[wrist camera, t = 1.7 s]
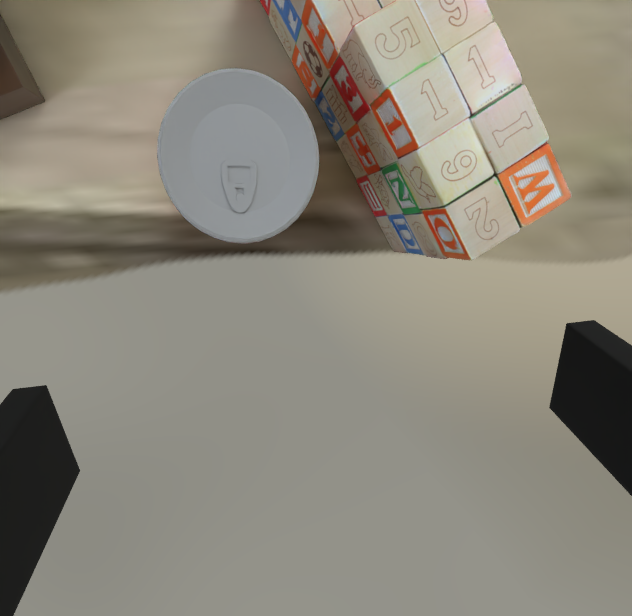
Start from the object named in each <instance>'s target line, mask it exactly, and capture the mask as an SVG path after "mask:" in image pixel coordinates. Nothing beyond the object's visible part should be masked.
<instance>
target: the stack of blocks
mask: <svg viewBox="0 0 632 616" xmlns="http://www.w3.org/2000/svg"><path fill="white" fill-rule="evenodd" d="M260 2H261V4H262V5H263V7H264V9H265V11H266V13H267V15H268V16H269V21H270V23H271V25H272V26H273V28H274V30H275V32H276V34H277V36H278V38H279V39H280V41H281V43H282V45H283V47H284V48H285V50H286V52H287V54H288V56H289V58H290V59H291V60H292V63H293V65H294V67H295V69H296V71H297V73H298V75H299V77H300V78H301V80H302V82H303V84H304V86H305V88H306V90H307V91H308V93H309V95H310V97H311V99H312V100H313V101H314V102H315V104H316V106H317V108H318V110H319V111H320V113H321V115H322V117H323V119H324V121H325V123H326V124H327V126H328V128H329V130H330V132H331V134H332V136H333V138H334V139H335V140H336V142H337V144H338V146H339V148H340V150H341V152H342V154H343V155H344V157H345V159H346V161H347V163H348V165H349V166H350V168H351V170H352V172H353V174H354V176H355V177H356V181H357V183H358V185H359V187H360V189H361V191H362V193H363V195H364V197H365V199H366V200H367V202H368V204H369V206H370V208H371V210H372V212H373V214H374V215H375V217H376V219H377V222H378V223H379V225H380V227H381V229H382V231H383V233H384V235H385V237H386V238H387V240H388V242H389V244H390V246H391V248H392V249H393V251H395V252H402V253H413V254H420V255H425V256H427V257H434V258H440V259H447V258H456V259H463V260H473V259H475V258H477V257H478V256H480V255H481V254H483V253H485V252H486V251H488V250H489V249H491V248H493V247H494V246H496V245H498V244H499V243H501V242H502V241H504V240H506V239H507V238H509V237H511V236H512V235H514V234H516V233H517V232H519V231H520V228H523V227H525V226H527V225H529V224H531V223H533V222H534V221H536V220H537V219H539V218H541V217H542V216H544V215H545V214H547V213H548V212H550V211H552V210H553V209H555V208H556V207H558V206H559V205H561V204H562V203H564V202H566V201H567V200H568V199H570V198H571V196H572V195H571V193H570V190H569V188H568V186H567V183H566V181H565V179H564V177H563V175H562V172H561V170H560V168H559V165H558V163H557V160H556V158H555V156H554V154H553V152H552V149H551V147H550V145H549V144H548V143H547V141H548V139H549V135H548V133H547V131H546V129H545V127H544V125H543V122H542V120H541V118H540V116H539V114H538V112H537V109H536V107H535V105H534V103H533V100H532V98H531V96H530V94H529V92H528V90H527V88H526V86H525V85H524V84H521V81H522V75H521V73H520V71H519V69H518V66H517V64H516V62H515V60H514V58H513V56H512V54H511V51H510V49H509V47H508V45H507V43H506V41H505V39H504V37H503V34H502V32H501V30H500V28H499V26H498V24H497V23H495V22H494V21H493V15H492V12H491V10H490V8H489V6H488V4H487V2H486V0H260Z"/></svg>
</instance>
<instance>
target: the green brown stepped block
mask: <svg viewBox="0 0 632 616" xmlns="http://www.w3.org/2000/svg"><path fill="white" fill-rule="evenodd" d="M42 102H45V100H44V98H43V96H42V94H41V92H40V90H39V88H38V86H37V84H36V82H35V80H34V78H33V77H32V75H31V73H30V71H29V69H28V67H27V65H26V63H25V61H24V59H23V57H22V55H21V53H20V51H19V50H18V48H17V46H16V44H15V42H14V40H13V38H12V36H11V34H10V32H9V30H8V28H7V26H6V24H5V23H4V21H3V19H2V17H1V15H0V119H3V118H5V117H8V116H10V115H13V114H15V113H18V112H20V111H23V110H25V109H28V108H30V107H32V106H35V105H37V104H40V103H42Z"/></svg>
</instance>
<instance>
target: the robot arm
mask: <svg viewBox="0 0 632 616" xmlns="http://www.w3.org/2000/svg"><path fill="white" fill-rule="evenodd" d="M550 409H551V410H552V411H553V412H554V413H555V414H556V415H557V416H558V417H559V418H560V420H561V421H562V422H563V423H564V424H565V425H566V426H567V427H568V428H569V429H570V430H571V431H572V432H573V433H574V435H576V437H577V438H578V439H579V440H580V441H581V442H582V443H583V444H584V445H585V446H586V447H587V448H588V449H589V451H590V452H591V453H592V454H593V455H594V456H595V457H596V458H597V459H598V460H599V461H600V462H601V463H602V464H603V466H604V467H605V468H606V469H607V470H608V471H609V472H610V473H611V474H612V475H613V476H614V477H615V479H616V480H617V481H618V482H619V483H620V484H621V485H622V486H623V487H624V488H625V489H626V490H627V491H628V492H629V494H630V495H631V496H632V346H631V345H630V344H628V343H627V342H626V341H624V340H623V339H621V338H619V337H618V336H617V335H615V334H614V333H612V332H611V331H609V330H608V329H606V328H605V327H603V326H602V325H600V324H599V323H597V322H596V321H594V320H592V321H583V322H575V323H567V324H566V329H565V334H564V339H563V344H562V348H561V353H560V358H559V363H558V368H557V373H556V378H555V383H554V388H553V393H552V397H551V403H550ZM79 472H80V469H79V467H78V465H77V462H76V459H75V457H74V455H73V452H72V449H71V447H70V444H69V442H68V439H67V437H66V434H65V431H64V429H63V426H62V424H61V421H60V419H59V416H58V414H57V411H56V409H55V406H54V404H53V401H52V399H51V396H50V393H49V391H48V388H47V386H46V385H45V386H36V387H28V388H19V389H13V390H12V391H11V392H10V393H9V394H8V396H7V397H6V398H5V399H4V401H3V402H2V403H1V404H0V616H13V615H14V613H15V610H16V608H17V606H18V604H19V602H20V600H21V598H22V595H23V593H24V591H25V589H26V587H27V584H28V582H29V580H30V578H31V576H32V574H33V571H34V569H35V567H36V565H37V563H38V561H39V559H40V556H41V554H42V552H43V550H44V548H45V545H46V543H47V541H48V539H49V537H50V535H51V532H52V530H53V528H54V526H55V524H56V522H57V520H58V517H59V515H60V513H61V511H62V509H63V507H64V504H65V502H66V500H67V498H68V496H69V493H70V491H71V489H72V487H73V485H74V483H75V480H76V478H77V476H78V474H79Z"/></svg>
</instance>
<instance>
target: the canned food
mask: <svg viewBox="0 0 632 616" xmlns="http://www.w3.org/2000/svg"><path fill="white" fill-rule="evenodd" d="M157 158H158V164H159V170H160V175H161V178H162V181H163V184H164V186H165V189H166V192H167V193H168V195H169V197H170V199H171V200H172V202H173V204H174V206H175V207H176V208H177V210H178V211H179V212H180V213H181V214H182V215H183V217H184V218H185V219H186V220H187V221H188V222H190V223H191V224H192V225H193V226H195V227H196V228H197V229H198V230H200V231H202V232H203V233H205V234H207V235H209V236H211V237H213V238H216V239H219V240H223V241H226V242H231V243H243V244H245V243H253V242H260V241H262V240H265V239H268V238H271V237H274V236H276V235H277V234H279V233H281V232H282V231H284V230H286V229H287V228H288V227H289V226H290V225H291V224H292V223H294V222H295V221H296V220H297V219H298V218H299V216H300V215H301V214H302V212H303V211H304V209H305V208H306V207H307V205H308V203H309V201H310V198H311V196H312V194H313V192H314V188H315V185H316V181H317V177H318V169H319V151H318V142H317V138H316V135H315V131H314V128H313V125H312V123H311V121H310V119H309V117H308V115H307V112H306V110H305V109H304V108H303V106H302V105H301V104H300V102H299V101H298V100H297V98H296V97H295V96H294V95H293V94H292V93H291V92H290V91H289V90H288V89H287V88H286V87H284V86H283V85H282V84H280V83H279V82H277V81H276V80H274V79H272V78H271V77H269V76H267V75H264V74H261V73H259V72H256V71H253V70H247V69H240V68H230V69H220V70H216V71H213V72H210V73H206V74H204V75H202V76H200V77H199V78H197V79H195V80H193V81H192V82H190V83H189V84H188V85H187V86H186V87H185V88H183V89H182V90H181V91H180V92H179V93H178V94H177V96H176V97H175V98H174V100H173V101H172V103H171V104H170V105H169V107H168V109H167V111H166V114H165V116H164V118H163V120H162V123H161V127H160V132H159V136H158V152H157Z"/></svg>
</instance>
